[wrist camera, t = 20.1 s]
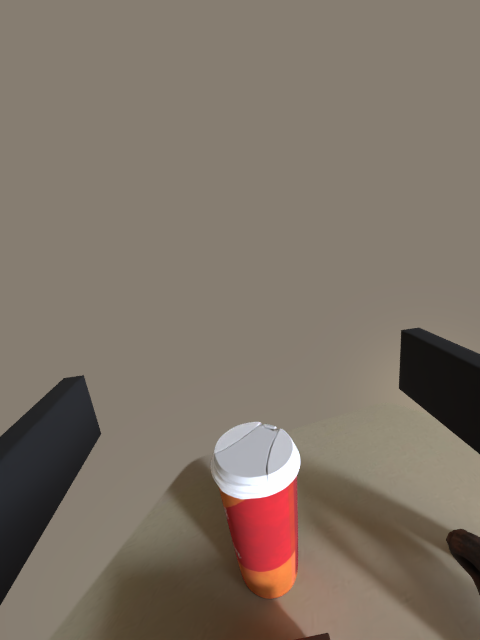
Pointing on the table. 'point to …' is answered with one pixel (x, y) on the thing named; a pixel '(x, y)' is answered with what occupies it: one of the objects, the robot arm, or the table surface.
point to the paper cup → (260, 503)
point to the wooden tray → (317, 637)
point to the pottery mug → (466, 552)
